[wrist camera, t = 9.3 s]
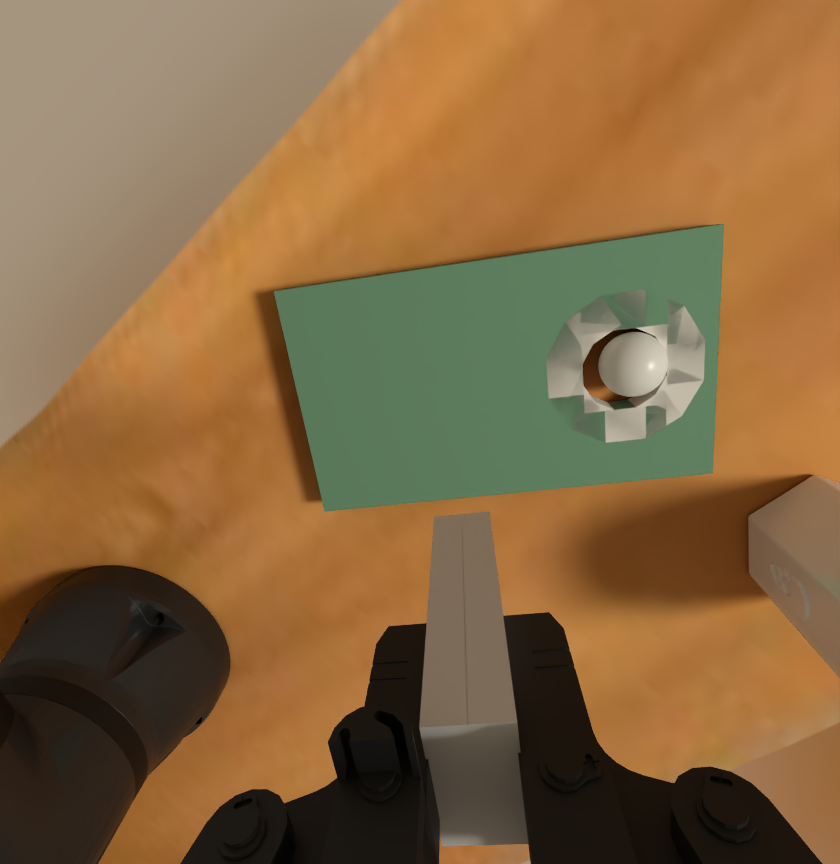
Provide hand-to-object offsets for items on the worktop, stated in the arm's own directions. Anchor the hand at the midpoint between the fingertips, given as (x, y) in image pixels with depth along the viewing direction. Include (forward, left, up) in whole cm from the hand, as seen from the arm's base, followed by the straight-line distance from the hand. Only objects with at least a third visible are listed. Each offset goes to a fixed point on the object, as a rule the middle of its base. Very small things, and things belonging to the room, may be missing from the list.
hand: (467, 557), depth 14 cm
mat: (+2, 0, -19) cm, 19 cm away
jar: (+21, -13, -19) cm, 31 cm away
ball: (+10, 0, -17) cm, 19 cm away
